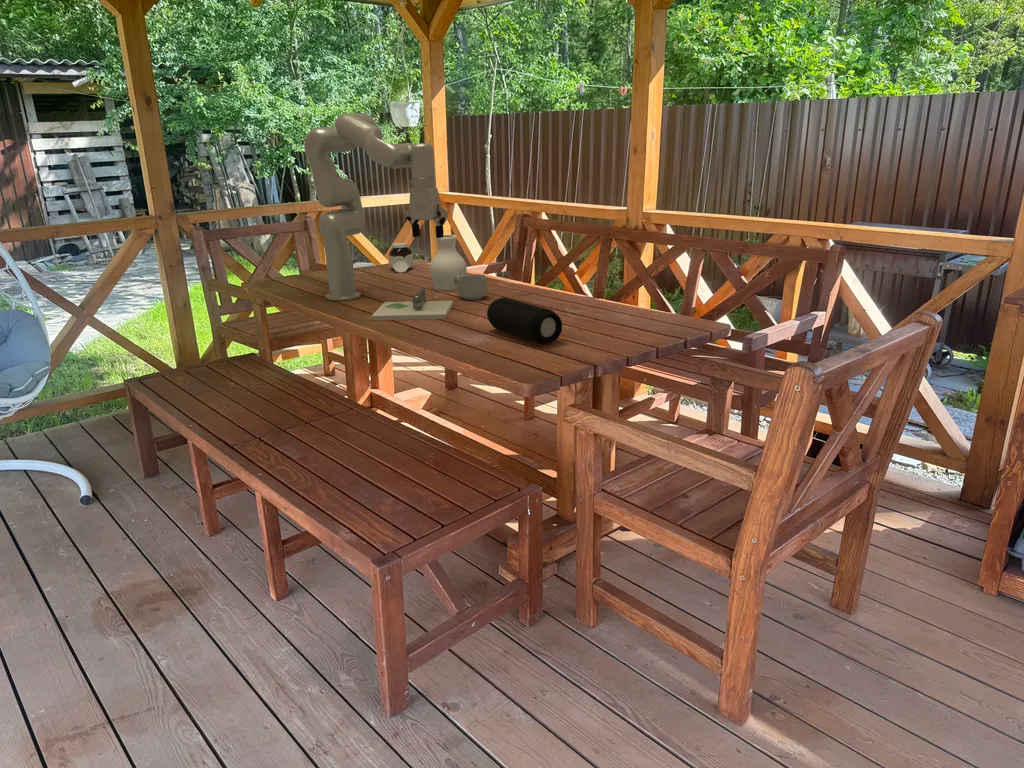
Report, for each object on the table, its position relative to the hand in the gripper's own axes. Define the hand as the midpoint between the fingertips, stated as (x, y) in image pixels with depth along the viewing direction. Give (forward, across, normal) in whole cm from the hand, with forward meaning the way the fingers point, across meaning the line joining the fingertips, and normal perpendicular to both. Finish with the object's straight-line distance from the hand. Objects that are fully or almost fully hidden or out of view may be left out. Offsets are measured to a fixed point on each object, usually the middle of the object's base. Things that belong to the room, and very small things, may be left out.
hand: (428, 237), depth 240 cm
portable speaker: (+25, +45, -16) cm, 54 cm away
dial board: (+24, -4, -6) cm, 25 cm away
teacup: (+25, +1, +21) cm, 32 cm away
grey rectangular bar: (+22, -4, -2) cm, 23 cm away
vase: (+24, -17, +33) cm, 44 cm away
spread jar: (+24, -59, +55) cm, 84 cm away
